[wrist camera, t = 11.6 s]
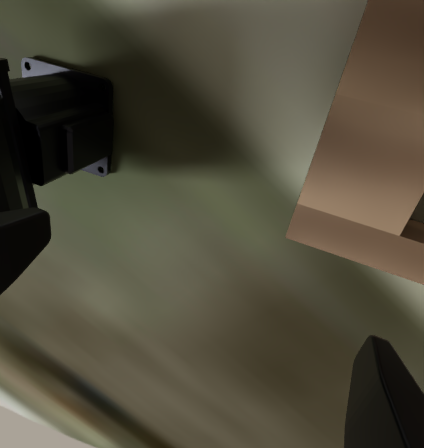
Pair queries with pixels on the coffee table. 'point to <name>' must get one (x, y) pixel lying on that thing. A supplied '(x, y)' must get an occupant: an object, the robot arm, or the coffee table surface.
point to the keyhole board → (372, 149)
